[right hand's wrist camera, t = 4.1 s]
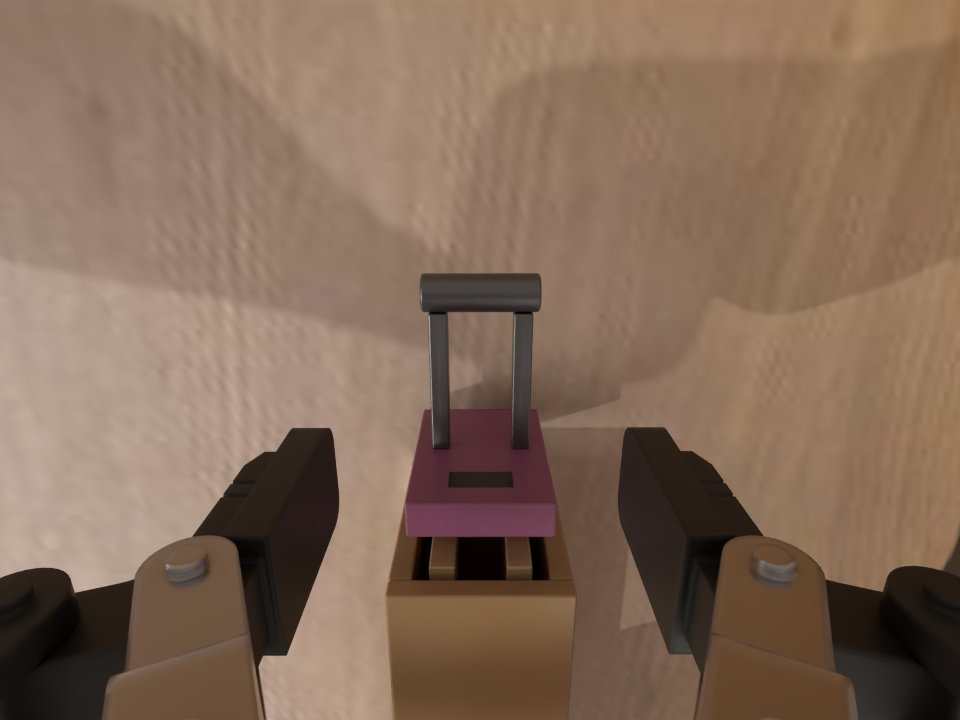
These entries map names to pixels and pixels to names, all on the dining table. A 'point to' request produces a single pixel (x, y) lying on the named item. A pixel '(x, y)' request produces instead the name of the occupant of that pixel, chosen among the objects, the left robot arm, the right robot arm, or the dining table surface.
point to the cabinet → (480, 637)
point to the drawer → (480, 445)
